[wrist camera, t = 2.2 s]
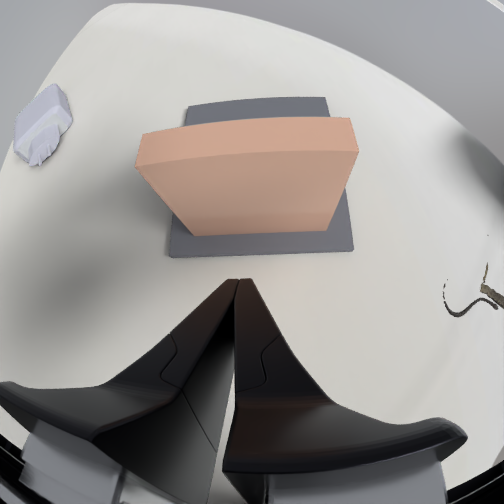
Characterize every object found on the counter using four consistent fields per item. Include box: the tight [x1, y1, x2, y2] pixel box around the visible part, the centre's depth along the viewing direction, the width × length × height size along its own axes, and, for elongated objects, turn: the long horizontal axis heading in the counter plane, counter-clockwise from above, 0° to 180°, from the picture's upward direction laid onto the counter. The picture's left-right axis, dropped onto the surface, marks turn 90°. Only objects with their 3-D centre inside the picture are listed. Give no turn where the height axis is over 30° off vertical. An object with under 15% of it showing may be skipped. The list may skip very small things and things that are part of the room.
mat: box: [169, 97, 354, 258], centre depth 23 cm, size 16×14×1 cm
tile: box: [135, 117, 359, 236], centre depth 16 cm, size 2×10×10 cm, turn 91°
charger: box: [13, 83, 73, 166], centre depth 26 cm, size 5×9×15 cm
